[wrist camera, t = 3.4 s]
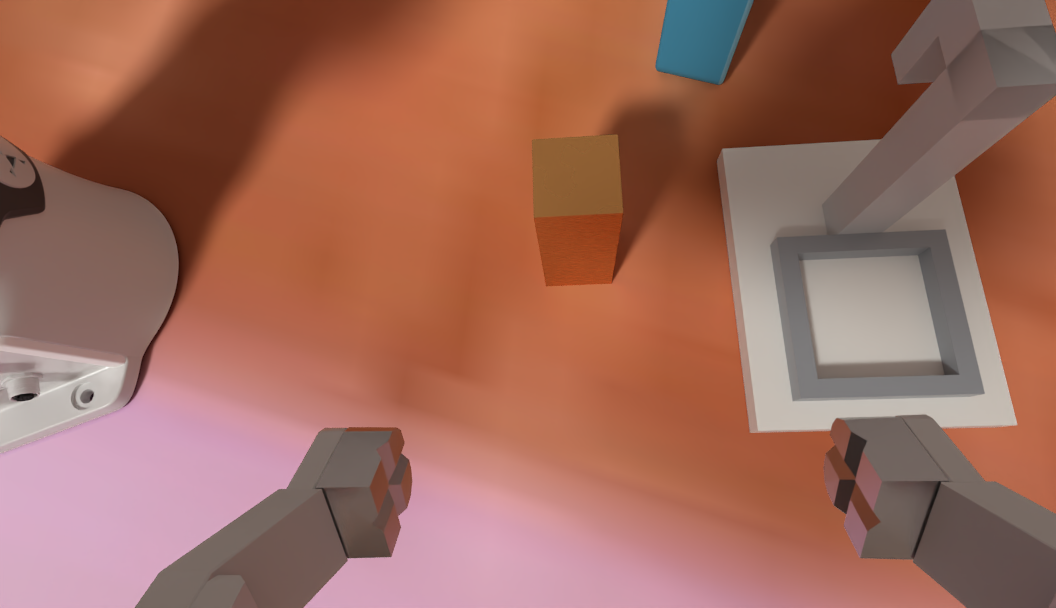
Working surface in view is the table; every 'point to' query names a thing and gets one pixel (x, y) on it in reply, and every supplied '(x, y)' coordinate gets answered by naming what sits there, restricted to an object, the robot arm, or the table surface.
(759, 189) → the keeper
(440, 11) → the table surface
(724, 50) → the data package
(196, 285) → the table surface
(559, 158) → the wooden square pillar
